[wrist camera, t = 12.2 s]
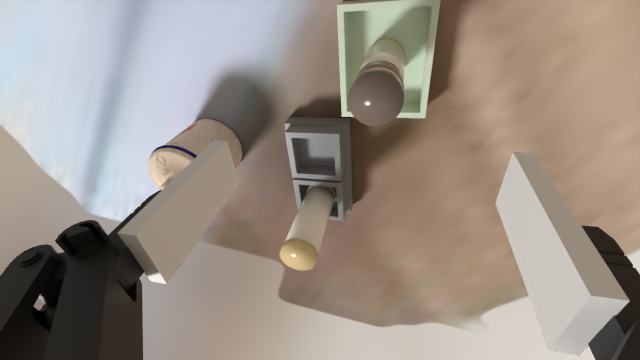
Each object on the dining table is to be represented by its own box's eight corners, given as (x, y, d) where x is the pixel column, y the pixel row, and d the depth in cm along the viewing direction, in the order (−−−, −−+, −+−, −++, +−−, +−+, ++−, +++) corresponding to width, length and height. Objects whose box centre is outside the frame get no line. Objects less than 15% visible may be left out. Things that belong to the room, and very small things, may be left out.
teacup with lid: (192, 104, 41) (131, 145, 32) (251, 135, 42) (208, 184, 33) (182, 165, 49) (130, 212, 40) (232, 191, 49) (193, 243, 40)
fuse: (306, 179, 42) (276, 243, 32) (335, 181, 41) (313, 248, 31) (309, 202, 44) (282, 267, 35) (337, 204, 43) (316, 272, 34)
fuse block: (289, 116, 39) (279, 130, 36) (350, 118, 37) (345, 132, 34) (302, 199, 47) (294, 217, 44) (352, 204, 45) (348, 222, 42)
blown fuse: (365, 39, 31) (346, 73, 21) (406, 37, 30) (405, 71, 20) (365, 79, 33) (348, 125, 24) (403, 78, 32) (401, 126, 23)
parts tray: (342, 1, 30) (336, 4, 27) (438, -6, 28) (441, -3, 25) (346, 106, 36) (341, 116, 34) (424, 107, 34) (425, 118, 32)
